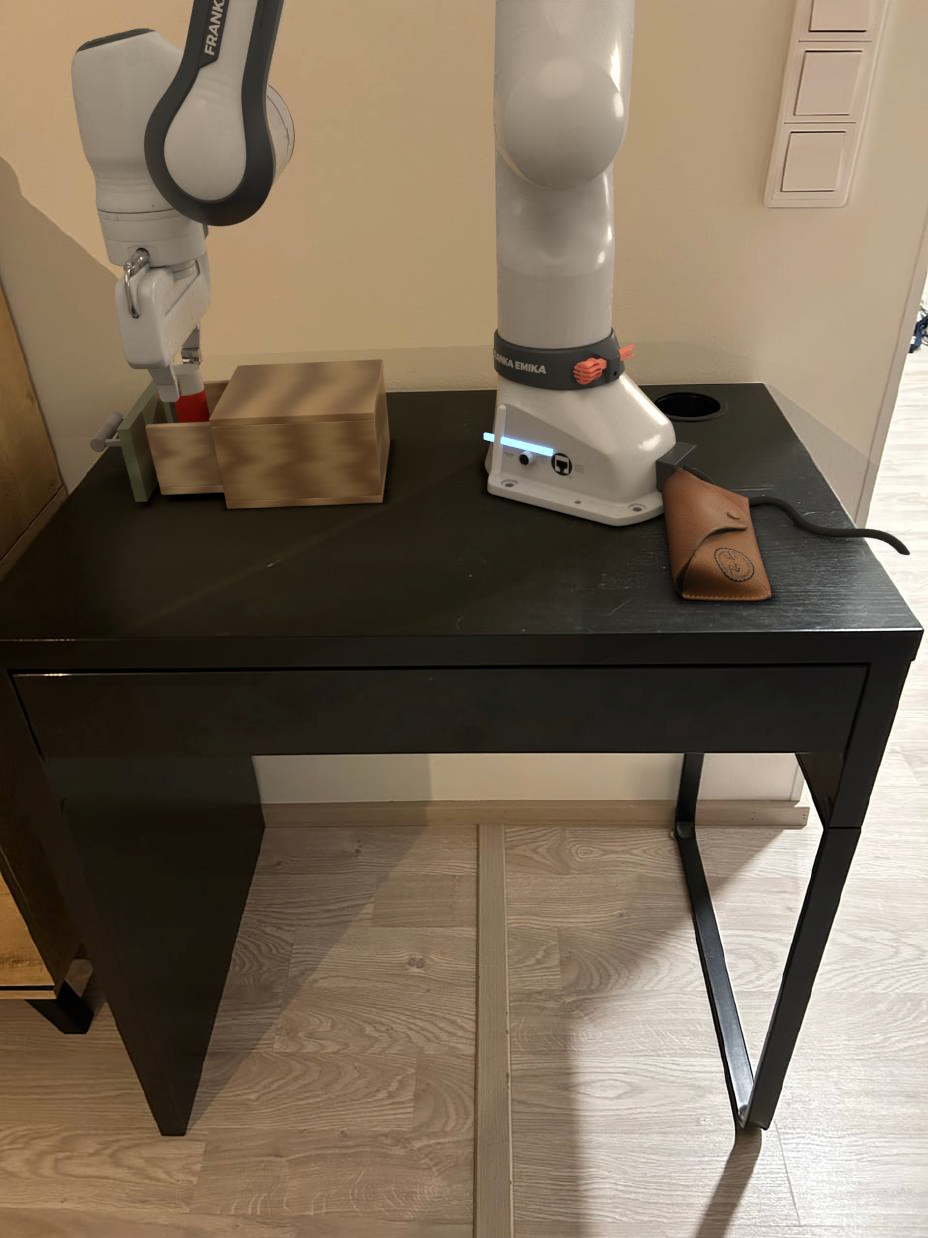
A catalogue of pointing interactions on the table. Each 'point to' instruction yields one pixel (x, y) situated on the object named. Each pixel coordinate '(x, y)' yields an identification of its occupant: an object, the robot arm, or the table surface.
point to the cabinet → (303, 434)
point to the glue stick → (191, 395)
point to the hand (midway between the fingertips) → (183, 381)
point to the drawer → (164, 446)
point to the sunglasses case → (711, 542)
